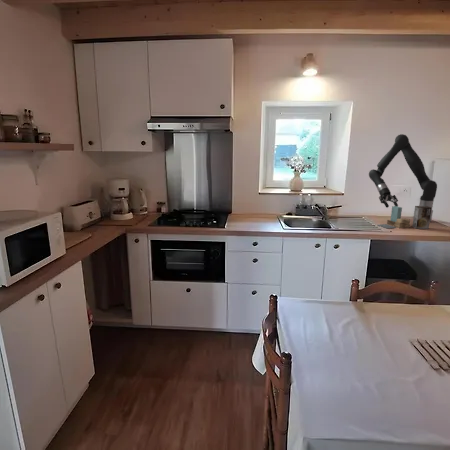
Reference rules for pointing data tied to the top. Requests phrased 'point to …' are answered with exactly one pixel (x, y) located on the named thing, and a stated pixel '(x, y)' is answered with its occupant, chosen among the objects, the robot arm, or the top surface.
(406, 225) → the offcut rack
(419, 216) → the coffee box
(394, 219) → the pale teal pillar
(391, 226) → the slate mat
